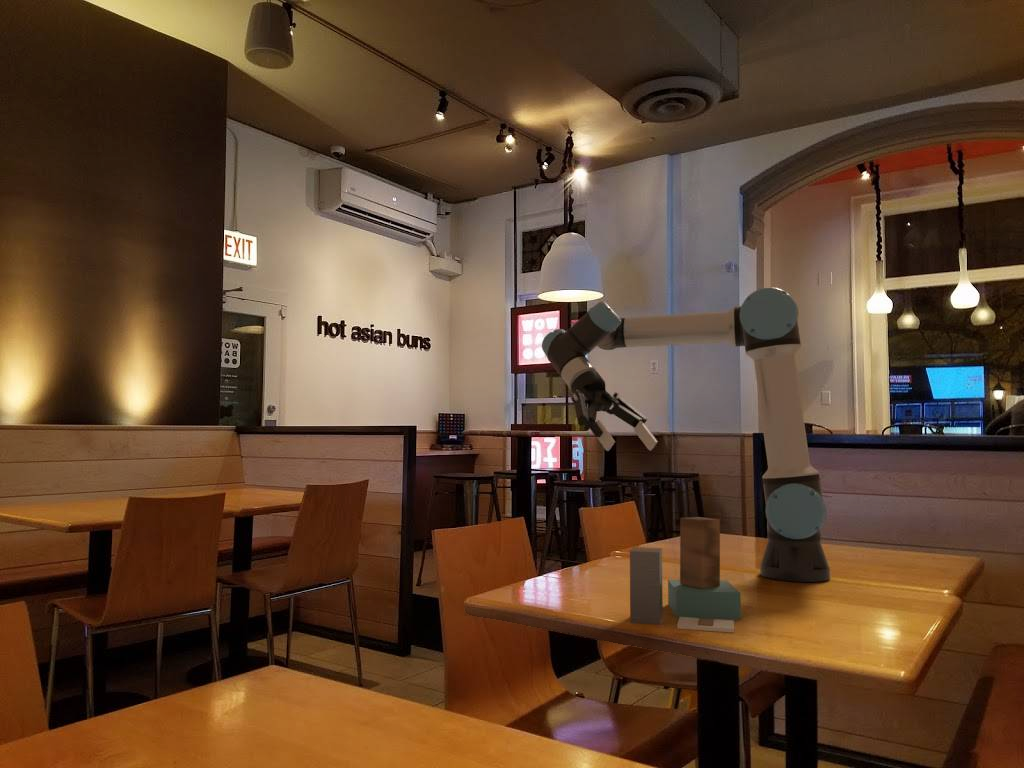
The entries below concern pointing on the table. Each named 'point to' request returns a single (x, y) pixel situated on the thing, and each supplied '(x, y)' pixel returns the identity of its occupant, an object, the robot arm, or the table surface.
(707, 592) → the teal pedestal
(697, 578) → the walnut block
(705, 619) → the card
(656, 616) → the grey metal block
